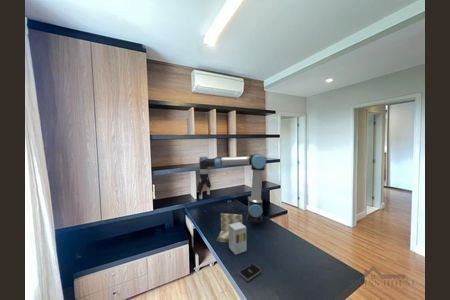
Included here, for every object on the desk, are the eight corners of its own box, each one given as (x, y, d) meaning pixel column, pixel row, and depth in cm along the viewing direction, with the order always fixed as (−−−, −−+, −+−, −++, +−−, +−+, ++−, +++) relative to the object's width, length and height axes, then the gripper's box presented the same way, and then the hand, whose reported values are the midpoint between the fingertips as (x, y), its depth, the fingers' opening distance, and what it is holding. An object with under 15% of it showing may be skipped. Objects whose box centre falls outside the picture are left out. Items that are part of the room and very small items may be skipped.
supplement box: (235, 255, 111) (234, 230, 111) (228, 247, 119) (228, 224, 119) (247, 250, 115) (246, 226, 115) (239, 243, 124) (239, 221, 123)
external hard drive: (239, 275, 94) (238, 271, 94) (252, 266, 101) (252, 263, 101) (247, 283, 89) (247, 279, 88) (261, 273, 95) (261, 270, 95)
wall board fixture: (242, 232, 140) (242, 214, 139) (240, 243, 124) (239, 223, 124) (221, 230, 143) (221, 213, 143) (216, 241, 128) (216, 221, 127)
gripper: (207, 171, 165) (208, 192, 166) (192, 175, 143) (193, 200, 143) (214, 171, 162) (214, 193, 163) (200, 176, 140) (201, 201, 140)
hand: (204, 196), depth 153 cm, fingers open, 13 cm apart
